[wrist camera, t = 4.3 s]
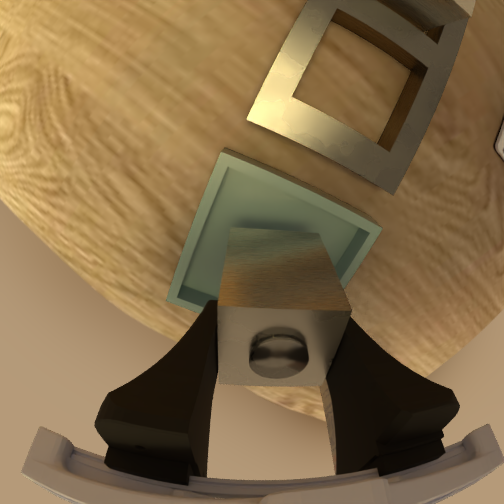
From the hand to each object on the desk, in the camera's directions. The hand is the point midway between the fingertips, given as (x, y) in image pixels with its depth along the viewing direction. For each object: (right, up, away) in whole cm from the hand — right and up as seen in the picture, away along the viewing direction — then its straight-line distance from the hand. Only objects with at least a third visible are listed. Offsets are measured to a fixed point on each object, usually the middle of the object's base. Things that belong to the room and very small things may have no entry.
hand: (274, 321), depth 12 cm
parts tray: (0, +3, +6) cm, 7 cm away
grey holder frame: (+6, +16, -1) cm, 17 cm away
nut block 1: (0, +2, +3) cm, 4 cm away
